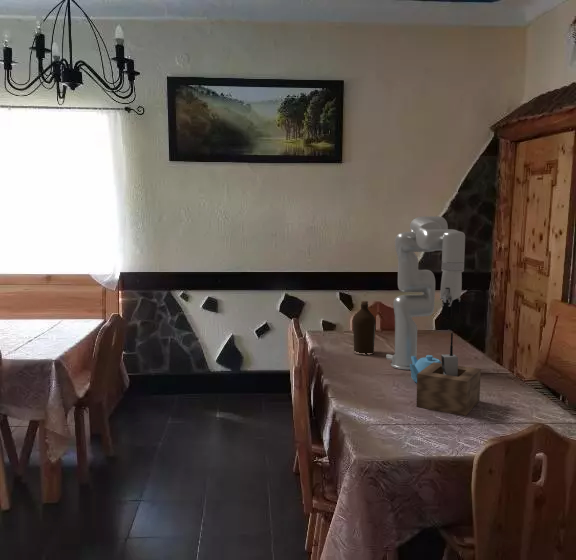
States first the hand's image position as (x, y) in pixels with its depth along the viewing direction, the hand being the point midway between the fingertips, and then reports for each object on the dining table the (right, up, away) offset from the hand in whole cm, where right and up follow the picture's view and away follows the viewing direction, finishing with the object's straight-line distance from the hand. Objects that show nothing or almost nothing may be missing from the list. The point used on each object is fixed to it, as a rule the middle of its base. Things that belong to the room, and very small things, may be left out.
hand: (451, 315), depth 211 cm
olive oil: (-21, -23, +75) cm, 81 cm away
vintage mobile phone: (0, -31, +4) cm, 32 cm away
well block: (0, -32, +4) cm, 32 cm away
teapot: (-1, -29, +31) cm, 42 cm away
